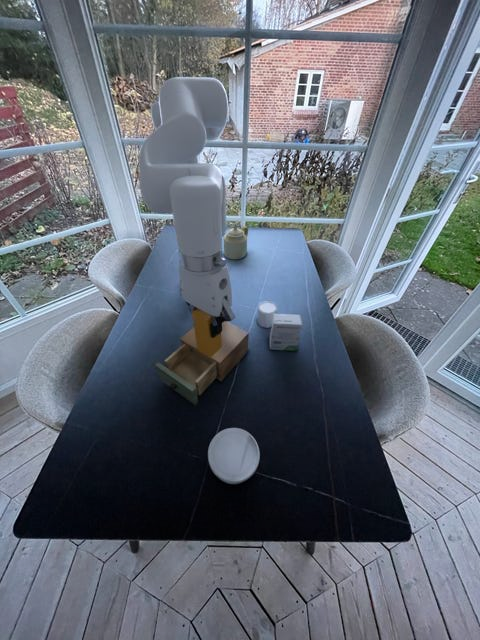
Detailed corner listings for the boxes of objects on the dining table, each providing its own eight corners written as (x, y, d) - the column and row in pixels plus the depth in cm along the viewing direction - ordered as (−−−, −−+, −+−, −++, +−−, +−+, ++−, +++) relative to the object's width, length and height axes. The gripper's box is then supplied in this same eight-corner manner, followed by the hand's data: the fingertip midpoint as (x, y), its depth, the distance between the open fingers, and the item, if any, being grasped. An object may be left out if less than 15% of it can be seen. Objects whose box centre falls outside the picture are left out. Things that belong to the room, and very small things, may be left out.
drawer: (192, 408, 69) (189, 394, 64) (156, 382, 75) (151, 367, 70) (224, 373, 77) (223, 358, 73) (190, 351, 83) (187, 336, 78)
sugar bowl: (226, 243, 136) (225, 214, 126) (247, 245, 135) (249, 216, 125) (222, 258, 125) (221, 228, 115) (245, 260, 125) (246, 229, 114)
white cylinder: (274, 330, 92) (276, 315, 87) (254, 327, 93) (256, 312, 88) (276, 317, 96) (278, 302, 92) (257, 314, 97) (259, 299, 93)
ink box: (294, 339, 89) (300, 313, 80) (296, 351, 85) (303, 325, 77) (269, 338, 89) (272, 312, 81) (269, 350, 85) (273, 323, 77)
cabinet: (221, 381, 76) (220, 363, 70) (183, 357, 82) (179, 338, 76) (247, 351, 84) (248, 332, 78) (212, 332, 90) (210, 313, 84)
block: (197, 349, 63) (191, 312, 55) (208, 339, 66) (205, 301, 57) (210, 357, 61) (207, 320, 53) (222, 346, 64) (220, 309, 56)
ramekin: (265, 480, 58) (267, 472, 55) (215, 496, 56) (214, 489, 52) (249, 431, 66) (250, 421, 62) (205, 444, 63) (203, 434, 60)
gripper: (252, 262, 45) (248, 335, 58) (182, 235, 52) (192, 305, 65) (225, 283, 41) (227, 357, 53) (152, 250, 48) (169, 322, 60)
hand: (208, 328), depth 59 cm, fingers closed on block, 4 cm apart
